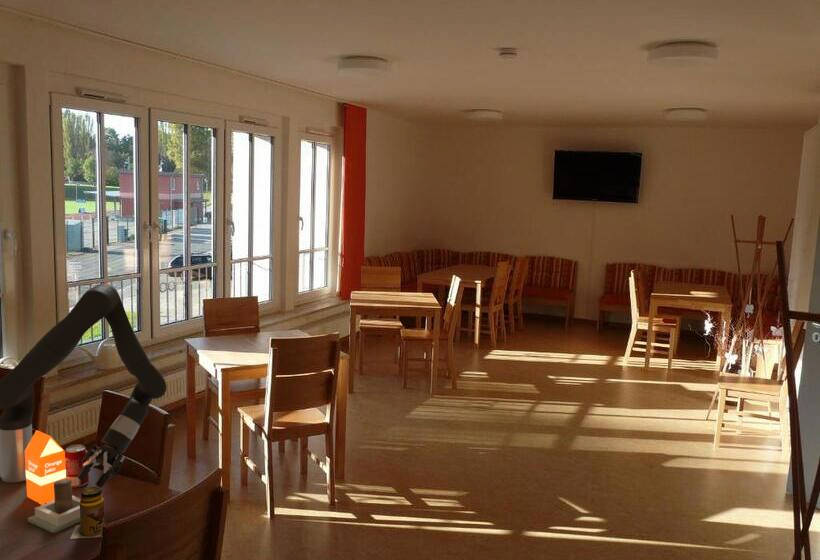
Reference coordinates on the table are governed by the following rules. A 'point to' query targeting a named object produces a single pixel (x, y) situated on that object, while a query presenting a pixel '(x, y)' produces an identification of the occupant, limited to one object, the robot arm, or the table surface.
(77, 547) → the table surface
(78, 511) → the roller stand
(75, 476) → the soda can
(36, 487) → the orange juice
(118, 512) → the table surface
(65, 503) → the roller
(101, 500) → the condiment
